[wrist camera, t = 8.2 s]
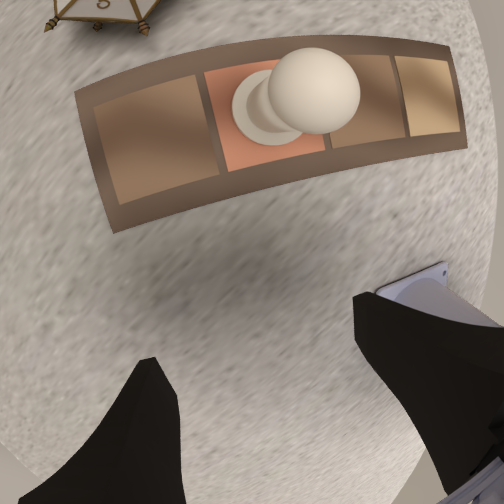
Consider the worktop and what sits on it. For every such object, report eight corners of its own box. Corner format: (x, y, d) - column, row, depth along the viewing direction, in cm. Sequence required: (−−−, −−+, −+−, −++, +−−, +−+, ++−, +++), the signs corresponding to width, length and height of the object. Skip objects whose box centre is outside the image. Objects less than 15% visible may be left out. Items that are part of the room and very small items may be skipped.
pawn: (312, 137, 17) (399, 140, 9) (241, 153, 16) (285, 161, 9) (296, 68, 15) (372, 25, 7) (223, 80, 15) (252, 27, 7)
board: (465, 147, 19) (468, 148, 19) (114, 232, 17) (112, 234, 16) (446, 46, 16) (450, 46, 16) (76, 92, 13) (73, 91, 13)
